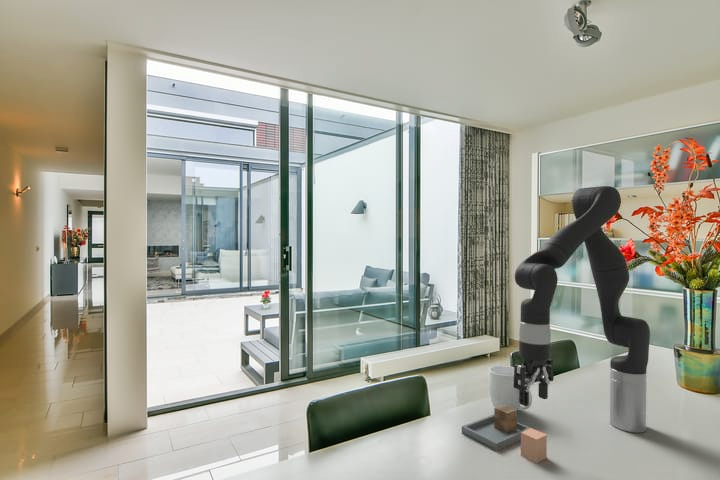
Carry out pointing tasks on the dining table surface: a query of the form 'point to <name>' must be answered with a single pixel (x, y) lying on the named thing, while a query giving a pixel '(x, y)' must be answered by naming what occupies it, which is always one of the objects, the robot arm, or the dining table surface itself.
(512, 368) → the mug
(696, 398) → the dining table surface
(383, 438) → the dining table surface
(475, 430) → the tray
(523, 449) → the block
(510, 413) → the block
